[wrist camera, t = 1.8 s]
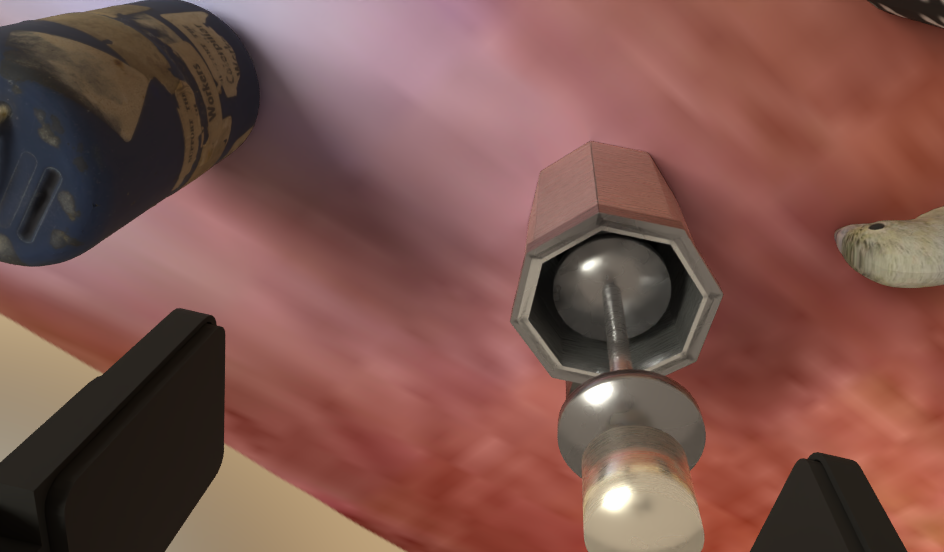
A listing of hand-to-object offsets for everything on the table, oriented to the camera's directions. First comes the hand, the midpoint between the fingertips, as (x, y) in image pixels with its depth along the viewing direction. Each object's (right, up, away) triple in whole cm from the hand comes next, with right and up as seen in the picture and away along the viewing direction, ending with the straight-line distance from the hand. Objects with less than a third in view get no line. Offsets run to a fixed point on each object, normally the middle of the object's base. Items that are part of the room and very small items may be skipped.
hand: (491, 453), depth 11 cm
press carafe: (+7, +6, +32) cm, 33 cm away
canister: (-17, +15, +30) cm, 38 cm away
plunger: (+7, +2, +23) cm, 24 cm away
